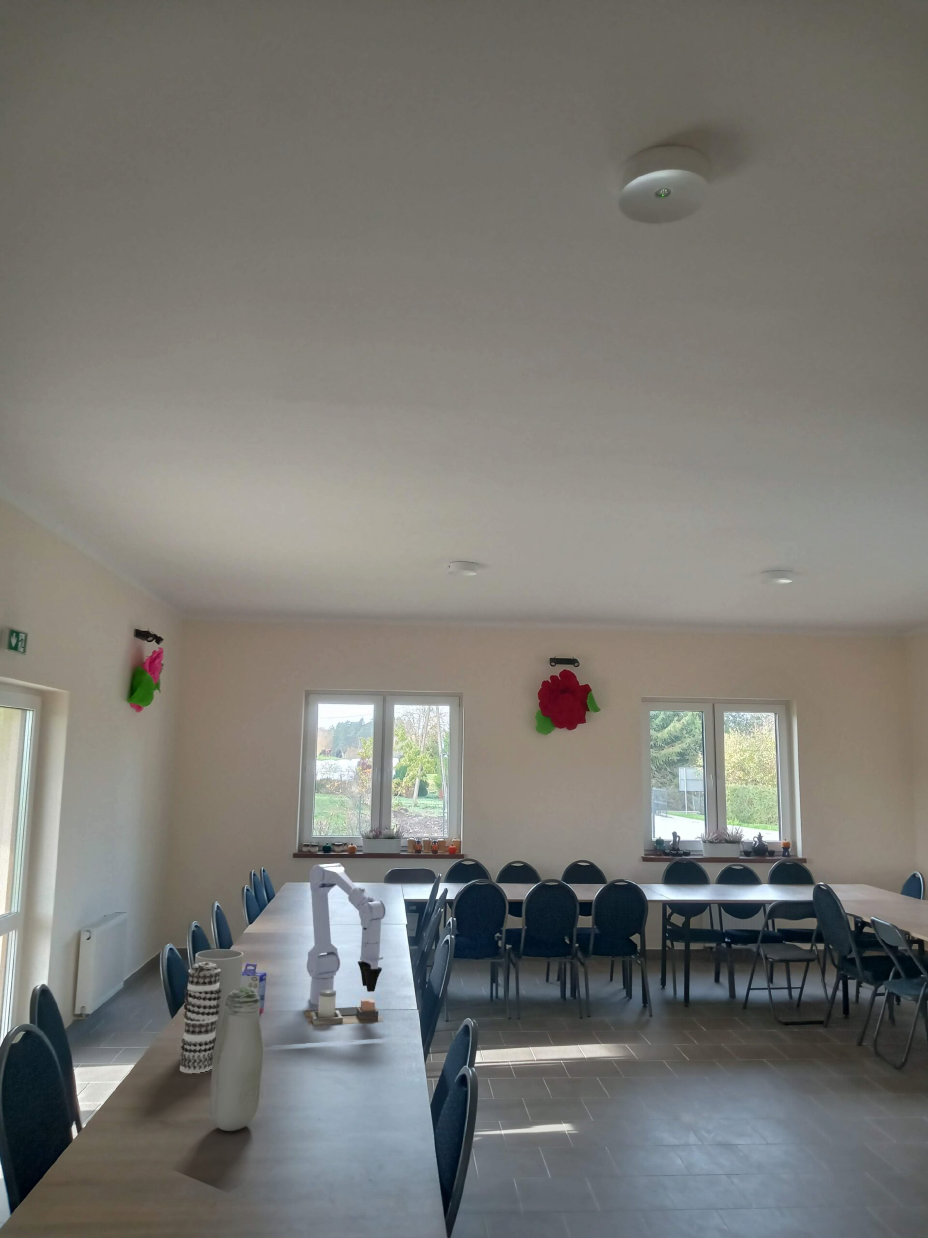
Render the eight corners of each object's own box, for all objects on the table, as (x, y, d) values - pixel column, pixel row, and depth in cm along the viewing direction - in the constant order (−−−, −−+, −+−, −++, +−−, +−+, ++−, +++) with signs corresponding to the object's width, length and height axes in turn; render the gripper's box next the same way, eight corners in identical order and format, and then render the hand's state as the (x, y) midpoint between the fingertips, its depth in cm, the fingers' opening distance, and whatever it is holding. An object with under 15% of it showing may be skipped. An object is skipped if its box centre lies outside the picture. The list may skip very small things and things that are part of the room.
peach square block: (360, 1010, 261) (360, 999, 262) (372, 1009, 262) (372, 999, 263) (362, 1013, 258) (363, 1003, 259) (374, 1012, 259) (374, 1002, 260)
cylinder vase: (245, 1049, 231) (252, 952, 235) (217, 1063, 220) (225, 961, 224) (206, 1043, 235) (213, 947, 240) (177, 1056, 224) (185, 956, 228)
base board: (302, 1014, 265) (303, 1002, 265) (372, 1010, 271) (373, 999, 272) (309, 1029, 250) (310, 1017, 250) (383, 1025, 256) (383, 1013, 257)
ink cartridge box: (264, 1013, 264) (268, 964, 267) (257, 1018, 259) (260, 968, 261) (235, 1011, 266) (238, 962, 269) (227, 1015, 261) (230, 965, 263)
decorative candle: (181, 1076, 210) (190, 969, 214) (175, 1064, 218) (183, 961, 222) (218, 1071, 214) (226, 966, 218) (211, 1060, 222) (219, 959, 226)
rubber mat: (335, 1009, 268) (335, 1008, 268) (360, 1008, 270) (360, 1007, 270) (339, 1016, 260) (339, 1015, 260) (365, 1015, 263) (365, 1014, 263)
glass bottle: (232, 1142, 174) (242, 997, 179) (198, 1130, 180) (209, 989, 185) (267, 1126, 183) (276, 988, 188) (233, 1114, 188) (243, 980, 193)
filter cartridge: (316, 1018, 258) (318, 990, 259) (333, 1017, 259) (334, 989, 261) (319, 1023, 253) (320, 994, 255) (335, 1022, 255) (337, 993, 256)
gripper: (388, 946, 258) (386, 994, 256) (378, 937, 272) (376, 982, 269) (365, 947, 256) (363, 995, 254) (356, 937, 270) (354, 983, 267)
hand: (368, 988), depth 261 cm, fingers open, 6 cm apart
